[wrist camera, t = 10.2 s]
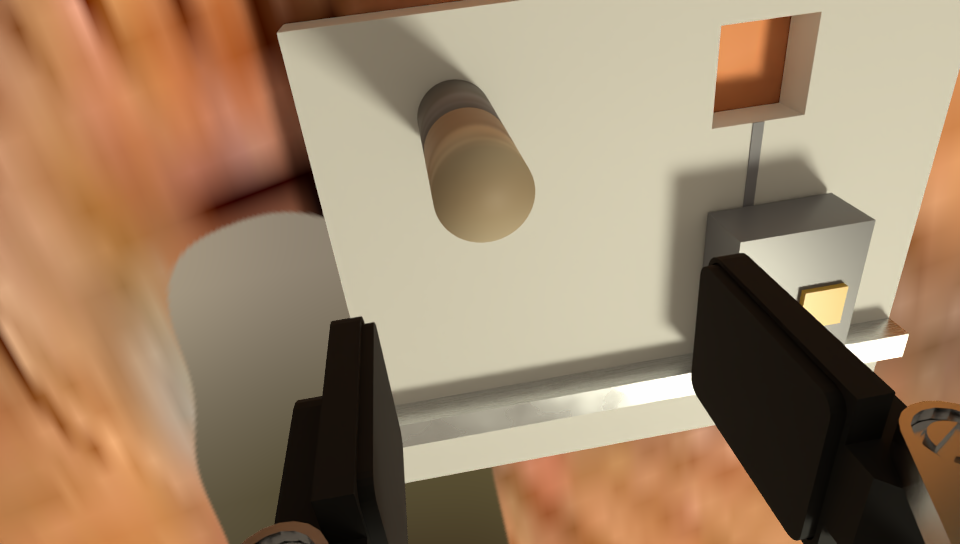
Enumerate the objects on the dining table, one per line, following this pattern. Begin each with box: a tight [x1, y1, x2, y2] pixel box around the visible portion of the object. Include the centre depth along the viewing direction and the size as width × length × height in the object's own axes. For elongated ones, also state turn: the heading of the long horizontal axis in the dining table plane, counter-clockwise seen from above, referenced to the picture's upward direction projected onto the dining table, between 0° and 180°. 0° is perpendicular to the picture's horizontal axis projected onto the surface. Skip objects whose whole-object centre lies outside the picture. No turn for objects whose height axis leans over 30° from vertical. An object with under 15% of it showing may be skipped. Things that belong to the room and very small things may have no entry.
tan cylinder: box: [417, 79, 535, 243], centre depth 21 cm, size 3×3×8 cm
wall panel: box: [277, 0, 960, 483], centre depth 30 cm, size 24×28×4 cm
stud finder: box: [703, 193, 876, 345], centre depth 29 cm, size 8×6×3 cm
